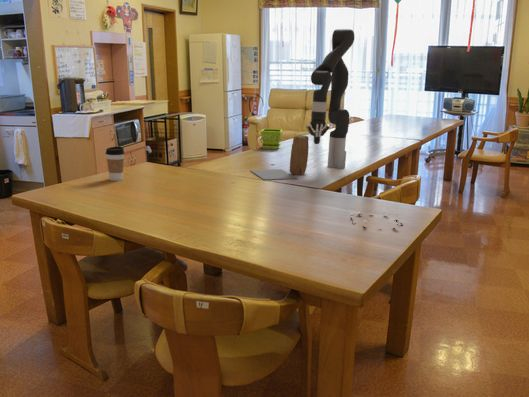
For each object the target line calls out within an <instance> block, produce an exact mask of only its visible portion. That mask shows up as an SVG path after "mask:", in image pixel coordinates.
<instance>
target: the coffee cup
mask: <svg viewBox="0 0 529 397" xmlns="http://www.w3.org/2000/svg"><path fill="white" fill-rule="evenodd" d="M105 150H106V151H105V154H106V163H107V169H108V170H107V171H108V176H109V177H108V178H109V180H110V181H112V182H117V181H118V182H119V181H122V180H123V179H124V166H125V165H124V164H125V163H124V162H125V158H124V154H125V149H124V147H123V146H111V147H108V148H106V149H105Z"/></svg>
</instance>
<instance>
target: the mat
mask: <svg viewBox="0 0 529 397" xmlns="http://www.w3.org/2000/svg"><path fill="white" fill-rule="evenodd" d="M249 172H251V173H252V174H254V175H255V176H256V177H258V178H260V179H262V180H263V181H277V180H278V181H280V180H298V177H297V176H295V175H294V174H291V173H290V172H287V171H286V170H283V169H282V168H280V169H251V170H249Z"/></svg>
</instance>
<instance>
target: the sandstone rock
mask: <svg viewBox="0 0 529 397" xmlns="http://www.w3.org/2000/svg"><path fill="white" fill-rule="evenodd" d="M309 141H310V140H309V136H308V135H302V134H301V135H295V136H294V137H293V140H292V145H291V149H290V158H289V159H290V160H289V174H291V175H294V176H295V175H296V176H303V175H304V174H305V172H306V171H307V167H308V161H309V160H308V159H309V144H310V143H309Z"/></svg>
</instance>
